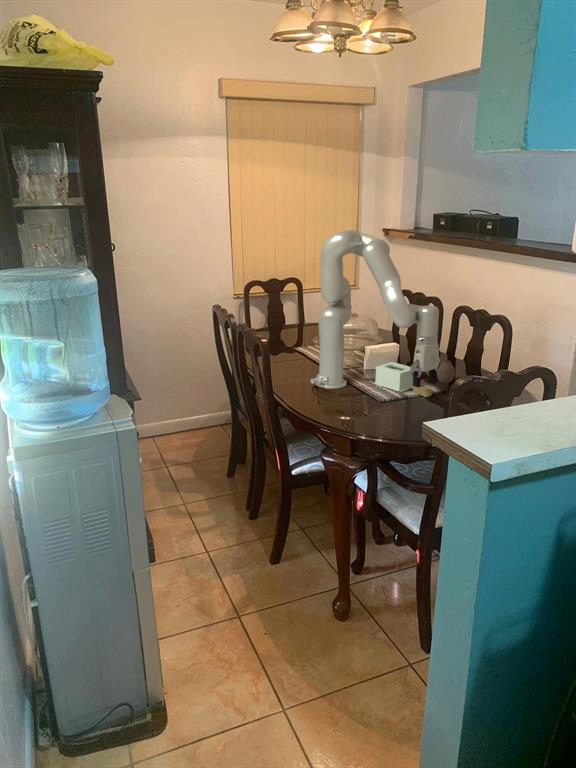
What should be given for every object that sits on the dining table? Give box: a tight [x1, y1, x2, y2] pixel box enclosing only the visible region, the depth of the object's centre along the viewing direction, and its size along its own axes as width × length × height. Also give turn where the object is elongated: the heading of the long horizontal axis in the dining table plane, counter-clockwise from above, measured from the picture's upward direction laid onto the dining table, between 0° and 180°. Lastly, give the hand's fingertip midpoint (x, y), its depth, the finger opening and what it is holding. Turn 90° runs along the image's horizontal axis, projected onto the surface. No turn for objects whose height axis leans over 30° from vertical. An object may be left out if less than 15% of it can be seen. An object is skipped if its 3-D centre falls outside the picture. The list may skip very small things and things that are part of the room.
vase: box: [436, 359, 456, 384], centre depth 230 cm, size 7×7×9 cm
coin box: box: [374, 361, 414, 391], centre depth 224 cm, size 10×12×8 cm
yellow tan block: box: [412, 385, 433, 398], centre depth 215 cm, size 3×6×3 cm, turn 44°
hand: (424, 383), depth 214 cm, fingers open, 9 cm apart
